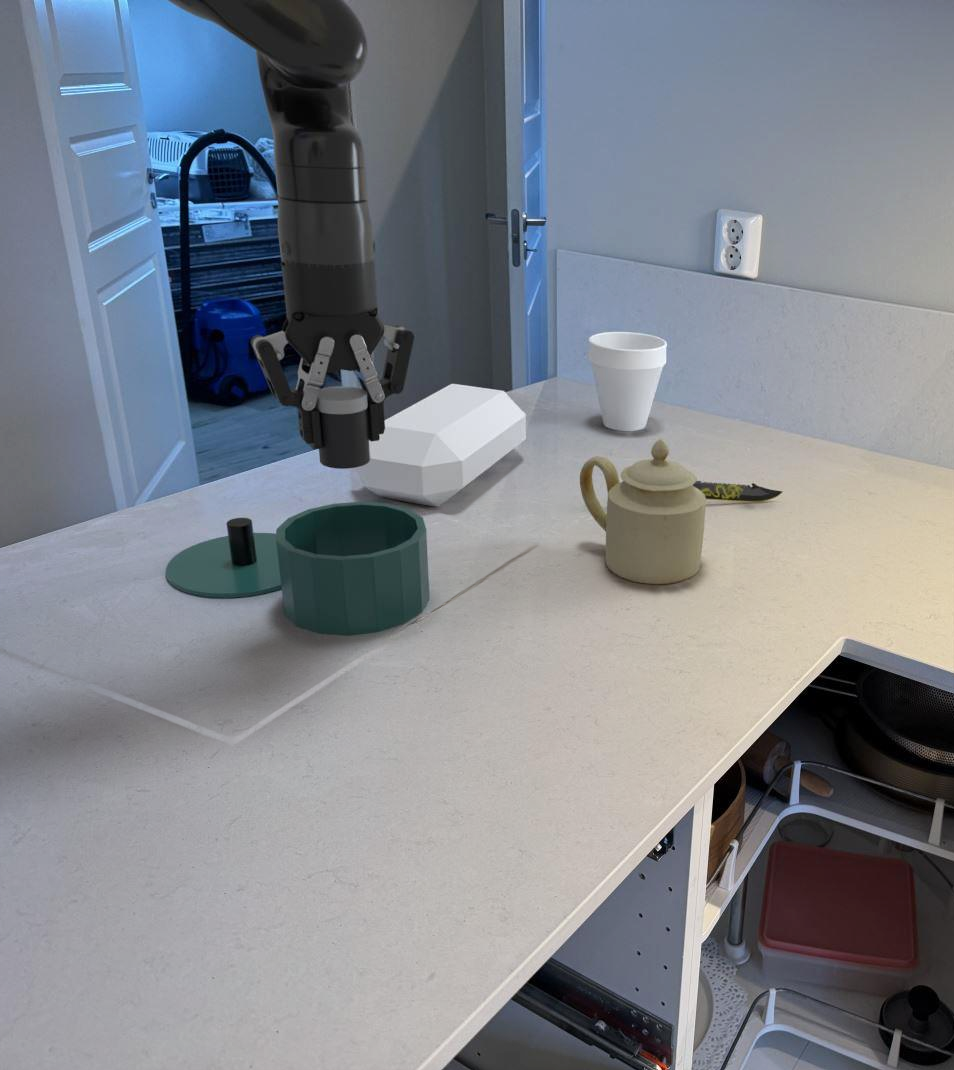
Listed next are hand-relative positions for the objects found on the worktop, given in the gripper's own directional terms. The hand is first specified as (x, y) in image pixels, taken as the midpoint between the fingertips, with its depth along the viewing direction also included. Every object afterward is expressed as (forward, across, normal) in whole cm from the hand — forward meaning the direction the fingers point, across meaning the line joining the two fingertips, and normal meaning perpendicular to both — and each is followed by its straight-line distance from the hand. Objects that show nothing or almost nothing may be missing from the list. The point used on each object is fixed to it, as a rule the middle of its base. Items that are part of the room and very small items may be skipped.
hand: (343, 441), depth 91 cm
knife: (+18, -47, -7) cm, 51 cm away
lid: (+17, +7, -14) cm, 23 cm away
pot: (+18, 0, -1) cm, 18 cm away
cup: (+18, -56, -40) cm, 71 cm away
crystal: (+18, -22, -31) cm, 42 cm away
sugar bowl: (+18, -31, +4) cm, 36 cm away
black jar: (+2, 0, 0) cm, 2 cm away
